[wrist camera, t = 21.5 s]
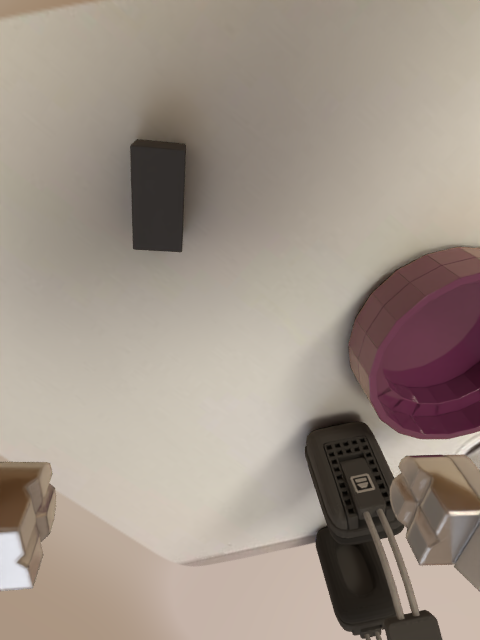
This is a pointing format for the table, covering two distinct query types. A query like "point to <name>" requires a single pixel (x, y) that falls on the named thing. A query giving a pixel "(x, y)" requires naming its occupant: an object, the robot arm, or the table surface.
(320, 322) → the table surface
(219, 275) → the table surface
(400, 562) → the headphones
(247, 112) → the table surface
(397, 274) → the bowl
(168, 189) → the eraser
